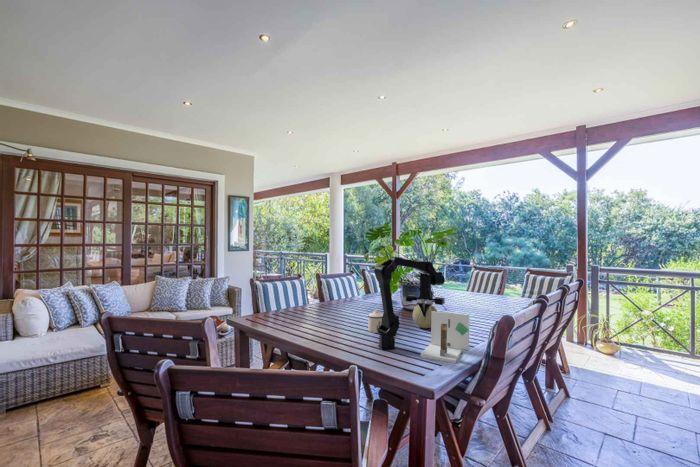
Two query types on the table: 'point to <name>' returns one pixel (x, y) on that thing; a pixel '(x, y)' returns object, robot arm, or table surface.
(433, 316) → the gauge base
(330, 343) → the table surface
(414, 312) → the cantaloupe
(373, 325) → the teacup with lid
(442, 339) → the lever
